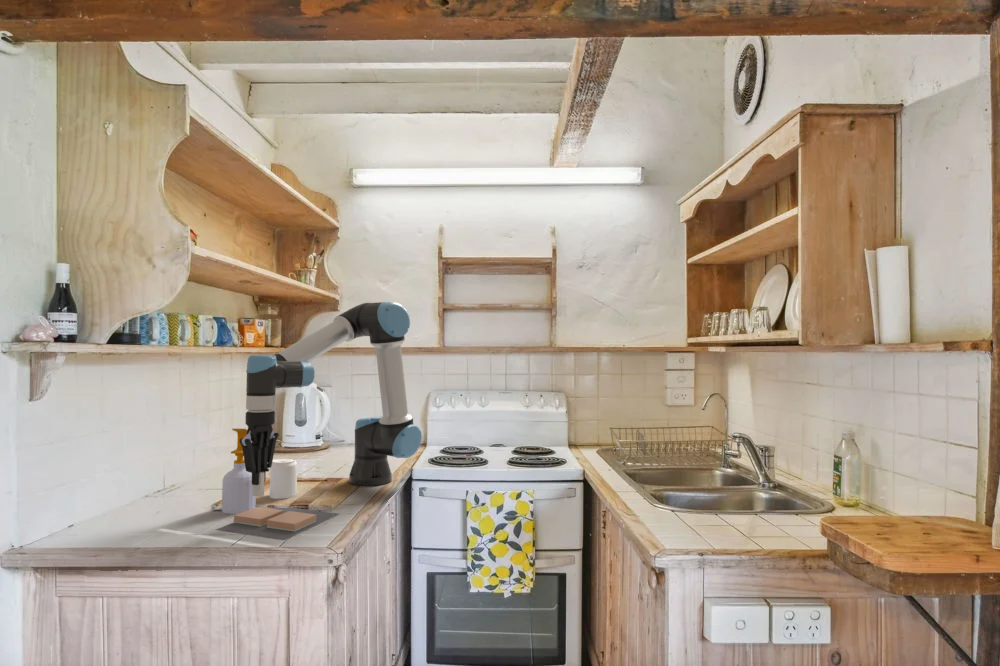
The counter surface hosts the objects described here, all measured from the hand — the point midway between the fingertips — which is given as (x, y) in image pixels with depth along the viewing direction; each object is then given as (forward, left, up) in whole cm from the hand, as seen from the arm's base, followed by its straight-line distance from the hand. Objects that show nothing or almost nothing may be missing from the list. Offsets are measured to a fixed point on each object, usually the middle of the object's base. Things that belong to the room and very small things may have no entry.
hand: (258, 495), depth 162 cm
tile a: (-5, +11, -6) cm, 13 cm away
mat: (-2, +6, -8) cm, 10 cm away
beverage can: (-24, -11, -8) cm, 28 cm away
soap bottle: (-7, -13, -8) cm, 17 cm away
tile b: (-5, 0, -6) cm, 8 cm away
